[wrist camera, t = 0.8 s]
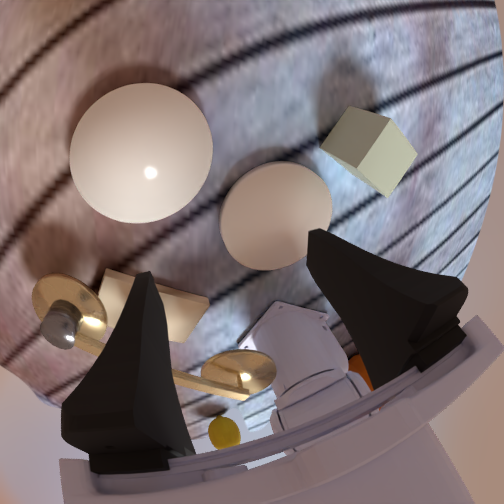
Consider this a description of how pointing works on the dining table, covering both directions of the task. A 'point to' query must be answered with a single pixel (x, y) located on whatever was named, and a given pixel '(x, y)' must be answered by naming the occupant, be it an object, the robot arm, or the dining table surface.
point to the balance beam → (87, 338)
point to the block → (370, 149)
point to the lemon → (224, 433)
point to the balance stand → (175, 301)
